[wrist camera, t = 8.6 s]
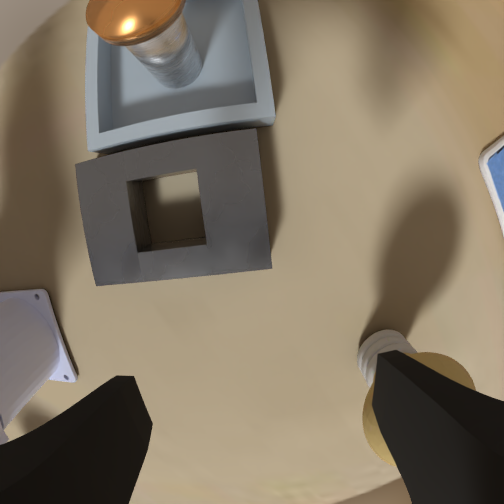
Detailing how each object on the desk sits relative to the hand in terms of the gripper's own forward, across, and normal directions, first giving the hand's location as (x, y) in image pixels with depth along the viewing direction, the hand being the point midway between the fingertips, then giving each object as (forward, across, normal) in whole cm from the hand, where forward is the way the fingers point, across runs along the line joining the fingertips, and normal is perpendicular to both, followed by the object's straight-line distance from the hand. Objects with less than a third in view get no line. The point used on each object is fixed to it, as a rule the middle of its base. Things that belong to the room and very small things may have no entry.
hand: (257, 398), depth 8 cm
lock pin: (+10, +3, -13) cm, 17 cm away
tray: (+10, +3, -14) cm, 18 cm away
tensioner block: (+10, +4, -5) cm, 12 cm away
